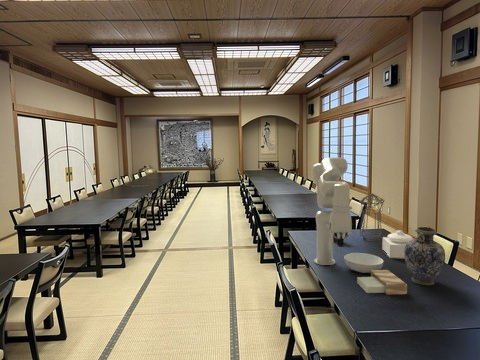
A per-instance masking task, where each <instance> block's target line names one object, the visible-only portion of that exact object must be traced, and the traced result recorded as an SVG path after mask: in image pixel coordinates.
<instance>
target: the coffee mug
mask: <svg viewBox="0 0 480 360" xmlns="http://www.w3.org/2000/svg"><path fill="white" fill-rule="evenodd" d="M340 236H341V233H340ZM348 236H349V235H347V236H346V237H345V238H344V239H346V238H348ZM333 241H334V242H333V243H335V242H337V237H336V236H335V235H333Z"/></svg>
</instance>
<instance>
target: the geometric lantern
mask: <svg viewBox="0 0 480 360" xmlns="http://www.w3.org/2000/svg"><path fill="white" fill-rule="evenodd" d="M365 200H366V202H365ZM374 201H376V202H375V203H374ZM358 202H359V203H360V205H361V206H360V207H363V205H364V207H365V208H364V209H363V208H361V220H360V221H361V222H360V230H359V235H360V236H361V237H362V238H363V239H364V238H365V237H368V238H367V240H368V242H370V240H373V241H375V242H377V240H376V239H377V238H379V237H380V236H381V235H382V215H381V214H382V213H381V210H382V207H383V205H384V203H385V199H384V198H381V197H380V196H377V194H374V193H369V194H367V195H366V196H365V197H362V199H361V200H359V201H358ZM368 202H370V203H368ZM368 205H369V206H368ZM379 205H380V207H379ZM376 206H377V208H378V209H376V211H378V212H375V209H374V208H373V207H376ZM370 208H371V209H370ZM369 211H372V214H373V215H374V231H373V230H368V223H366V221H368V219H369ZM365 215H366V216H365ZM376 215H377V216H376ZM377 219H379V223H377V221H376V220H377ZM365 223H366V224H365ZM376 224H377V227H376ZM365 225H366V226H365ZM376 230H377V231H376ZM366 232H371V233H374V234H373V235H371V234H367V233H366ZM373 238H374V239H373ZM365 239H366V238H365ZM369 239H370V240H369Z"/></svg>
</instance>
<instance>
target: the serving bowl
mask: <svg viewBox="0 0 480 360" xmlns="http://www.w3.org/2000/svg"><path fill="white" fill-rule="evenodd" d="M343 258H344V259H343V260H344V263H345V265H346V266H347V267H348V268H349V269H351V270H352V271H355V272H358V273H363V274H371V270H382V268H383V265H384V259H383V258H382V257H379V256H378V255H374V254H370V253H364V252H363V253H362V252H352V253H346V254H345V255H344V256H343Z"/></svg>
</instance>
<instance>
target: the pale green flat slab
mask: <svg viewBox="0 0 480 360" xmlns="http://www.w3.org/2000/svg"><path fill="white" fill-rule="evenodd" d="M356 277H357V279H356V283H357V284H358V285H359V286H360V288H361V289H362V290H364V292H365V293H367V294H377V293H381V294H383V293H384V294H385V293H386V284H385V283H384V282H382V281H381V280H380V279H379V278H378V277H371V276H360V277H358V276H356Z"/></svg>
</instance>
